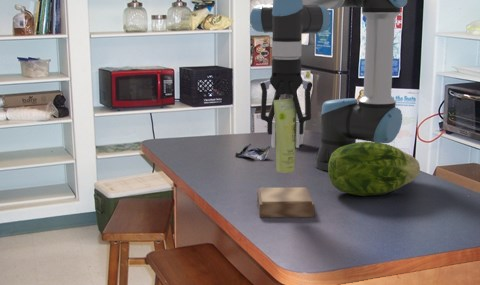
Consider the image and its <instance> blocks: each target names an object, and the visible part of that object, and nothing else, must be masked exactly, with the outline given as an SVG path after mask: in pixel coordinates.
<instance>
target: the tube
mask: <svg viewBox="0 0 480 285" xmlns="http://www.w3.org/2000/svg"><path fill="white" fill-rule="evenodd" d="M296 114H297V112H296V108H295V105H294V101H293V98H291V97H290V98H285V99H284V98H282V99H281V98H280V99H279V100H274V121H275V171H276V172H277V173H279V174H289V173H293V172H295V171H296V170H295V167H296V165H295V164H296V163H295V162H296V146H295V136H296Z"/></svg>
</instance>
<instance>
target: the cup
mask: <svg viewBox="0 0 480 285" xmlns="http://www.w3.org/2000/svg"><path fill="white" fill-rule="evenodd" d="M301 111H302V115H303V116H304V115H305V110H303V109H301ZM296 121H299V120H298V116H297V114H296ZM306 123H307V121H305V122H304V131H303V134H299V146H300V145H303V142H304V137H305V136H304V135H305V130H306V125H307V124H306Z"/></svg>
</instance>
